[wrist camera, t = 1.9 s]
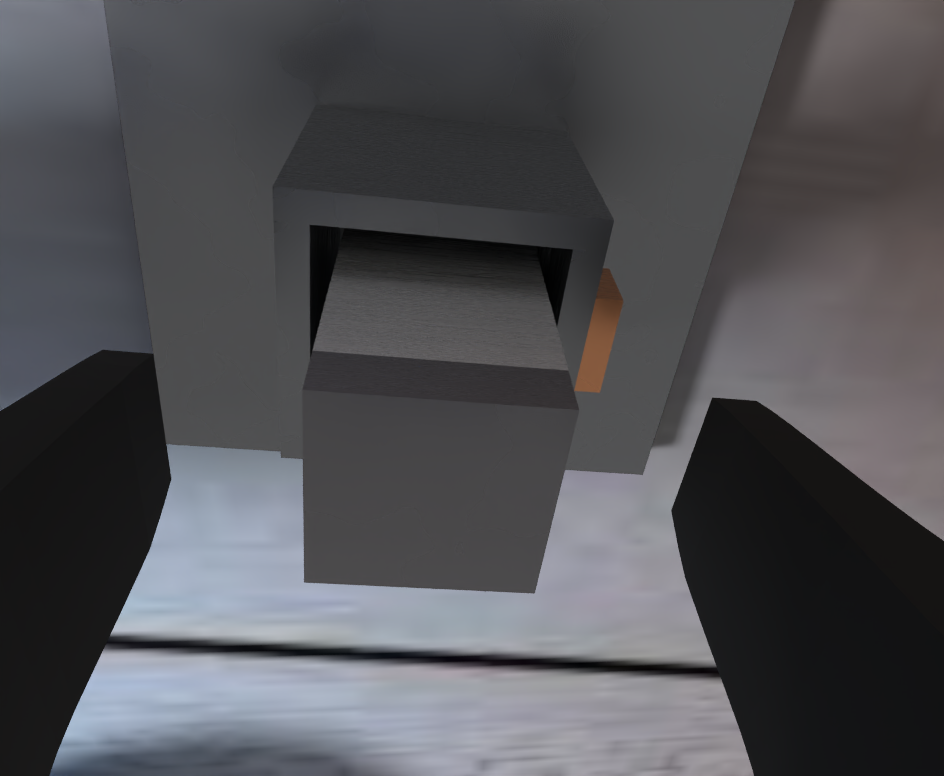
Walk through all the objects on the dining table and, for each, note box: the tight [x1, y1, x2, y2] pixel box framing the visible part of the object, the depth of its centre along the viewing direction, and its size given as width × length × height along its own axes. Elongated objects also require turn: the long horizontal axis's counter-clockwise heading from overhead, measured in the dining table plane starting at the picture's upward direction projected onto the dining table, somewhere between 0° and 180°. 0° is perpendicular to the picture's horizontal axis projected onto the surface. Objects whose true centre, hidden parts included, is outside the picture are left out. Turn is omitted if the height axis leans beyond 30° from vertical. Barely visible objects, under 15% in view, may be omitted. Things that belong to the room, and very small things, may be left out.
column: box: [302, 228, 579, 593], centre depth 12 cm, size 3×3×8 cm
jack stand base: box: [104, 0, 795, 475], centre depth 14 cm, size 12×12×6 cm
